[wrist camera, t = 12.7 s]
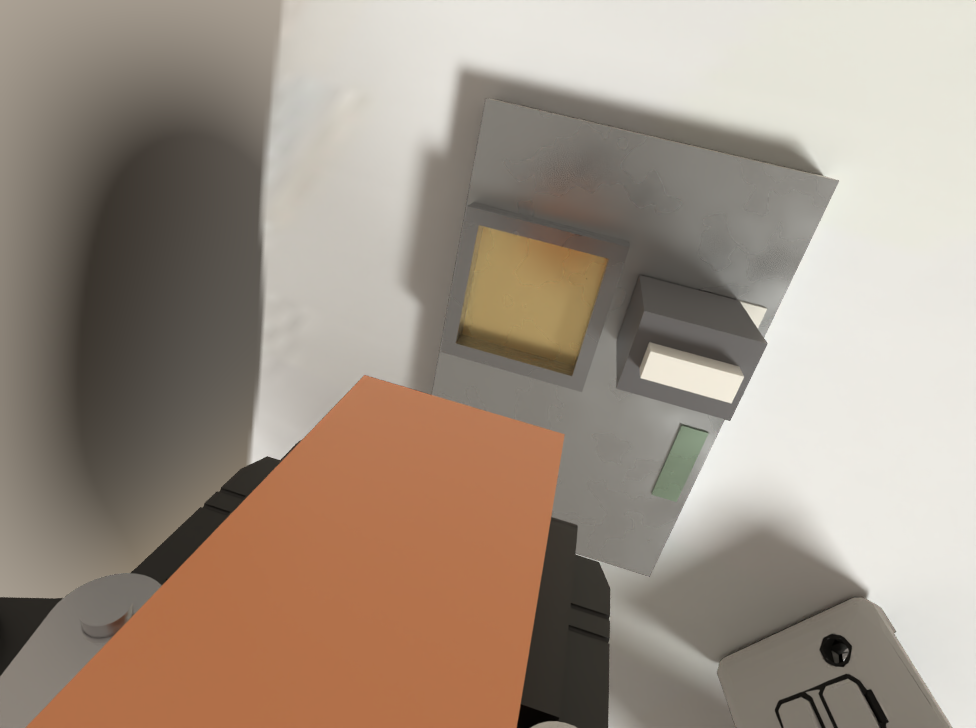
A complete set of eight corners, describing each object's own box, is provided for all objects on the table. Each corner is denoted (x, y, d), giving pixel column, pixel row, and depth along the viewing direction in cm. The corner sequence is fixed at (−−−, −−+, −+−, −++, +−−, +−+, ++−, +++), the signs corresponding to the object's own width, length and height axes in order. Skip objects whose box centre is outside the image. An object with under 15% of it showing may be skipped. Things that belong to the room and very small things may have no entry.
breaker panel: (647, 555, 29) (650, 594, 27) (420, 484, 31) (404, 516, 28) (824, 176, 20) (852, 184, 18) (493, 99, 22) (478, 97, 19)
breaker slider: (710, 367, 23) (734, 432, 18) (616, 341, 23) (616, 399, 18) (739, 300, 21) (773, 353, 17) (639, 274, 22) (645, 319, 17)
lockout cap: (516, 582, 12) (385, 1188, 5) (347, 526, 12) (21, 1024, 6) (565, 434, 10) (460, 1069, 3) (364, 375, 11) (-83, 838, 4)
